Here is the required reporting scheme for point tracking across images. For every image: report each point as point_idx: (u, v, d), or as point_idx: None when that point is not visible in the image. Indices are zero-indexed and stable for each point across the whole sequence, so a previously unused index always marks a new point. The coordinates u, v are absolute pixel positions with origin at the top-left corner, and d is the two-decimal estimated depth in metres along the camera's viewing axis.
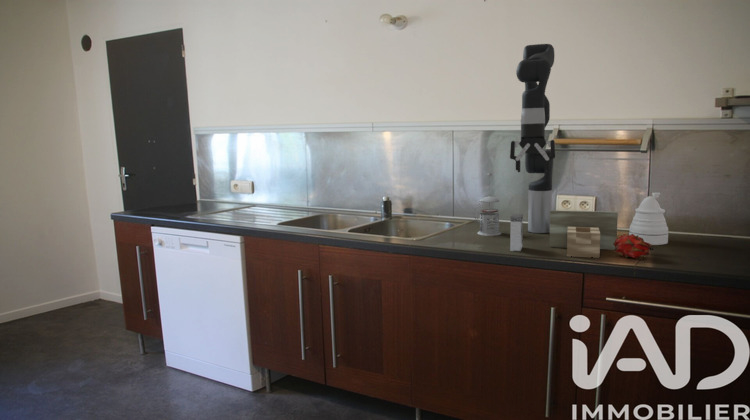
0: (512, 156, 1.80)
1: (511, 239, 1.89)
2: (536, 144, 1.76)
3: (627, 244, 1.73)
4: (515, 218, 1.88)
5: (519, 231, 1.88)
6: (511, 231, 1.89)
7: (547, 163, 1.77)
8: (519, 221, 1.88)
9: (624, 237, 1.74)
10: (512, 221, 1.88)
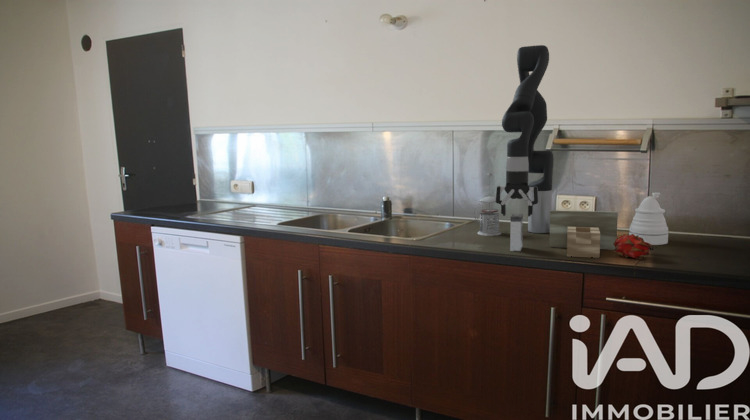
0: (498, 201, 1.91)
1: (511, 239, 1.89)
2: (520, 190, 1.87)
3: (627, 244, 1.73)
4: (515, 218, 1.88)
5: (519, 231, 1.88)
6: (511, 231, 1.89)
7: (530, 208, 1.88)
8: (519, 221, 1.88)
9: (624, 237, 1.74)
10: (512, 221, 1.88)
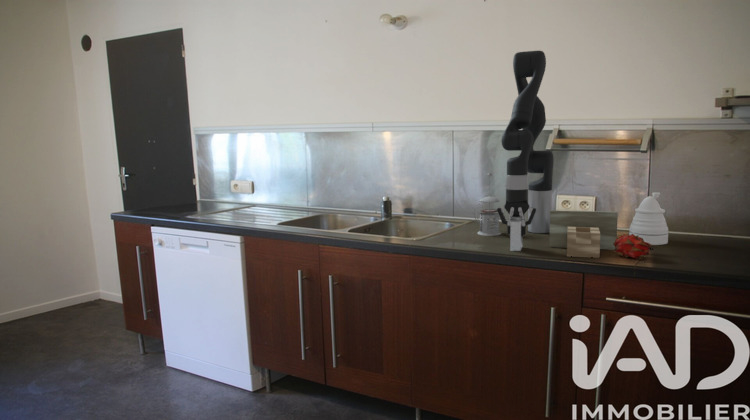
0: (504, 221, 1.92)
1: (511, 239, 1.89)
2: (520, 208, 1.88)
3: (627, 244, 1.73)
4: (515, 218, 1.88)
5: (519, 231, 1.88)
6: (511, 231, 1.89)
7: (523, 228, 1.90)
8: (519, 221, 1.88)
9: (624, 237, 1.74)
10: (512, 221, 1.88)
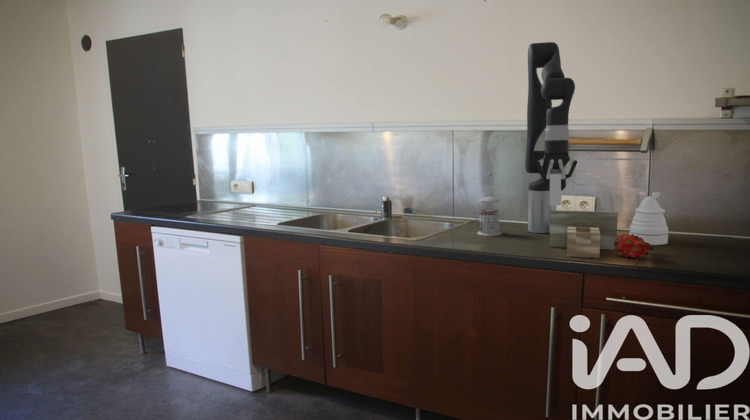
0: (543, 174, 1.84)
1: (550, 192, 1.81)
2: (560, 160, 1.80)
3: (627, 244, 1.73)
4: (555, 170, 1.80)
5: (559, 184, 1.80)
6: (550, 184, 1.81)
7: (563, 182, 1.82)
8: (559, 173, 1.80)
9: (624, 237, 1.74)
10: (552, 173, 1.80)
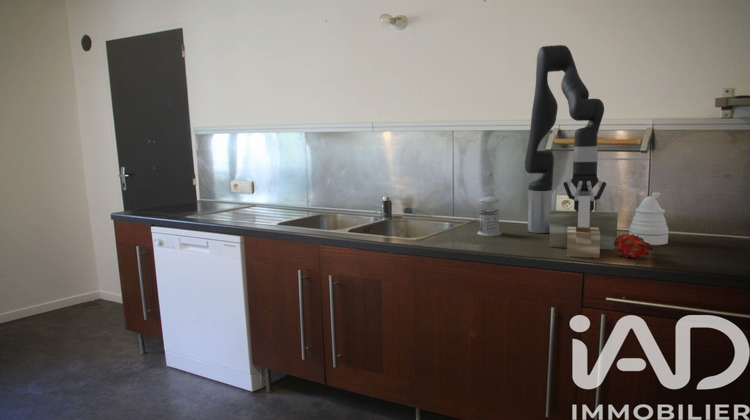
0: (571, 196, 1.81)
1: (579, 215, 1.79)
2: (589, 182, 1.78)
3: (627, 244, 1.73)
4: (584, 192, 1.77)
5: (588, 206, 1.77)
6: (579, 206, 1.78)
7: (592, 203, 1.80)
8: (588, 195, 1.77)
9: (624, 237, 1.74)
10: (580, 195, 1.78)
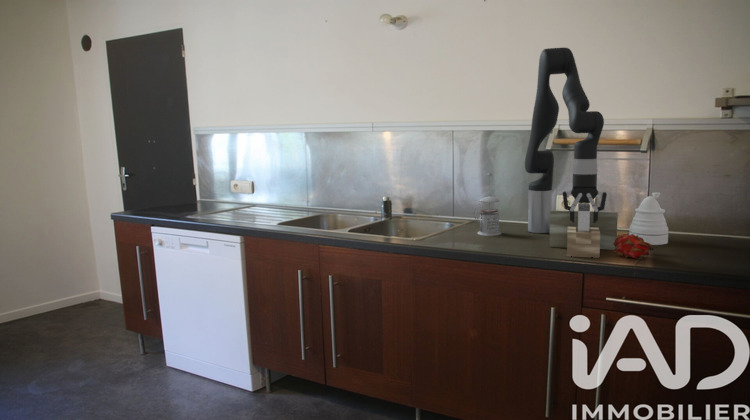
0: (566, 207, 1.82)
1: (579, 229, 1.79)
2: (588, 194, 1.78)
3: (627, 244, 1.73)
4: (583, 207, 1.78)
5: (588, 221, 1.78)
6: (579, 221, 1.79)
7: (596, 214, 1.80)
8: (588, 210, 1.78)
9: (624, 237, 1.74)
10: (580, 210, 1.78)
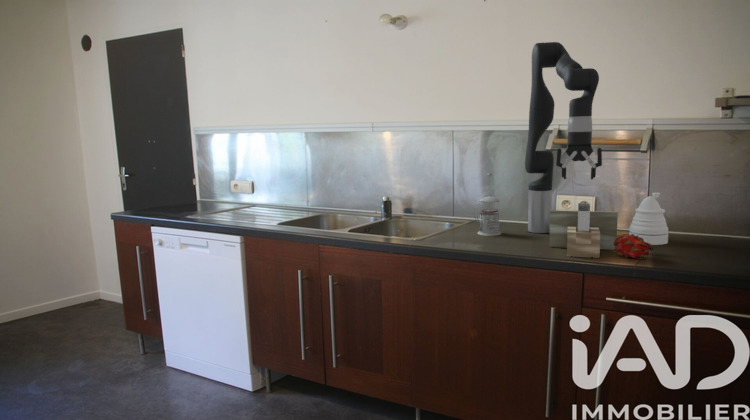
0: (558, 163, 1.82)
1: (579, 229, 1.79)
2: (583, 152, 1.79)
3: (627, 244, 1.73)
4: (583, 207, 1.78)
5: (588, 221, 1.78)
6: (579, 221, 1.79)
7: (594, 170, 1.80)
8: (588, 210, 1.78)
9: (624, 237, 1.74)
10: (580, 210, 1.78)
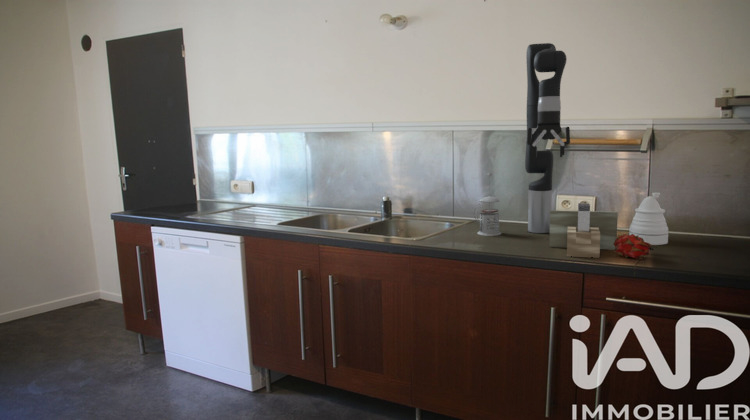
0: (529, 142, 1.91)
1: (579, 229, 1.79)
2: (552, 130, 1.87)
3: (627, 244, 1.73)
4: (583, 207, 1.78)
5: (588, 221, 1.78)
6: (579, 221, 1.79)
7: (562, 148, 1.88)
8: (588, 210, 1.78)
9: (624, 237, 1.74)
10: (580, 210, 1.78)
